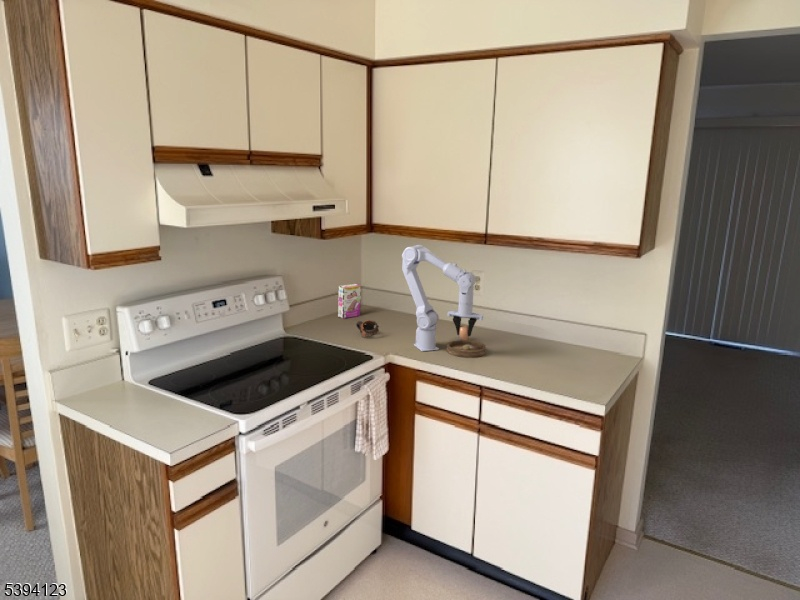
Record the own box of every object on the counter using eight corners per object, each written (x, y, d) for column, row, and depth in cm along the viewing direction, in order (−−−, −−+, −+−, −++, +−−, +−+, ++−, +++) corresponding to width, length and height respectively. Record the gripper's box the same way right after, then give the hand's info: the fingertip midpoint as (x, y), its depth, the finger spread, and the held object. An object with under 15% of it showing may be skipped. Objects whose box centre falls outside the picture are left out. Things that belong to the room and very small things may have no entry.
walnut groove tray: (440, 347, 234) (440, 341, 233) (473, 344, 240) (473, 338, 239) (457, 359, 219) (457, 353, 219) (492, 355, 225) (492, 349, 224)
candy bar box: (343, 319, 276) (343, 287, 272) (337, 317, 279) (337, 285, 276) (361, 316, 283) (361, 285, 279) (355, 314, 286) (355, 283, 283)
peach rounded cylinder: (457, 339, 223) (458, 327, 222) (460, 336, 226) (461, 324, 225) (467, 340, 221) (467, 328, 220) (469, 337, 225) (470, 326, 224)
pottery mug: (383, 334, 252) (383, 322, 247) (372, 348, 246) (372, 335, 241) (361, 325, 256) (360, 312, 251) (350, 337, 250) (349, 325, 245)
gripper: (485, 302, 221) (483, 334, 225) (451, 298, 227) (449, 330, 230) (481, 306, 215) (479, 339, 218) (446, 302, 220) (444, 334, 223)
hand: (464, 335), depth 224 cm, fingers closed on peach rounded cylinder, 4 cm apart
